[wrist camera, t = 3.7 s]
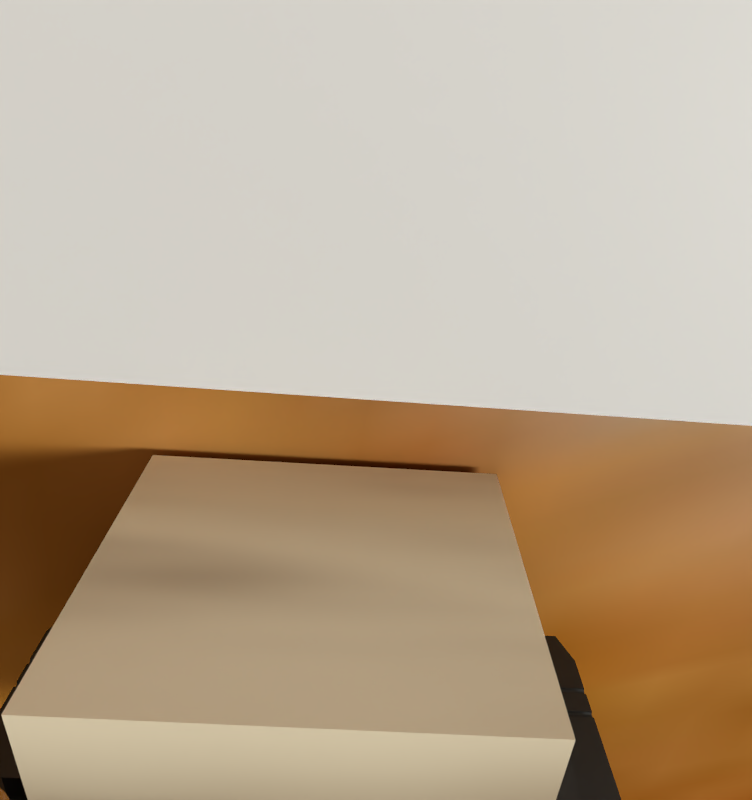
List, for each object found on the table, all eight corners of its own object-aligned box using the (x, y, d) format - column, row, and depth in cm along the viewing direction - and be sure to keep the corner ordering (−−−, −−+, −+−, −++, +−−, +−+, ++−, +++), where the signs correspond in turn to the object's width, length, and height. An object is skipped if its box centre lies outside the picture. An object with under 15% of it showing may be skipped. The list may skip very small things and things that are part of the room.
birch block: (454, 701, 14) (491, 996, 9) (179, 689, 14) (84, 984, 9) (496, 474, 11) (576, 740, 7) (153, 454, 11) (1, 714, 7)
